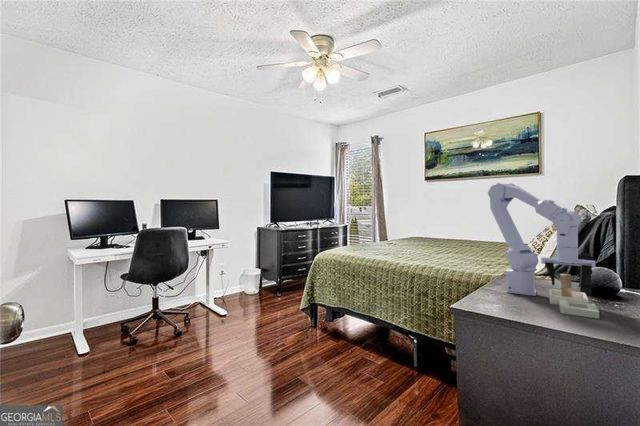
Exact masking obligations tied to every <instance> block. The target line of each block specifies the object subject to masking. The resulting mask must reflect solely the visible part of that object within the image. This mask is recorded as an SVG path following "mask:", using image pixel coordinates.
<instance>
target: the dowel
mask: <svg viewBox="0 0 640 426" xmlns="http://www.w3.org/2000/svg"><path fill="white" fill-rule="evenodd" d="M559 281H560V282H559V283H560V290H561V294H562V296H564V297H573V294H572V291H573V284H572V275H571V274H569V273H559Z"/></svg>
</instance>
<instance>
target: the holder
mask: <svg viewBox="0 0 640 426" xmlns="http://www.w3.org/2000/svg"><path fill="white" fill-rule="evenodd" d="M558 306H559V311H560V314H565V315H571V316H579V317H586V318H593V319H597V320H598V319H600V311H599V309H598V307H597V306H596V304H595V303H589V302H588V303H582V302H574V301H566V300H559V305H558Z"/></svg>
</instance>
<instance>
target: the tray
mask: <svg viewBox="0 0 640 426" xmlns="http://www.w3.org/2000/svg"><path fill="white" fill-rule="evenodd" d="M548 289H549V290H548V297H549V304H550V305H556V306H559V300H566V301H574V302H582V303H589V298H588V296H587V294H585V293H583V292H580V291H575V290H574V291H573V290H572V294H573V297H564V296H562V294H561V289H554V288H548Z"/></svg>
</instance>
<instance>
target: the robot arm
mask: <svg viewBox="0 0 640 426" xmlns="http://www.w3.org/2000/svg"><path fill="white" fill-rule="evenodd" d="M487 195H488V197H489V206H490V207H489V208H490V210H491V213H492V216H493V218H494V219H495V221H496V224H497V225H498V228H499V230H500V232H501V234H502V236H503V238H504V240H505V242H506V245H507V247H508V249H507V251H506V255H507V261H508V264H509V266H510V267H511V268H506V271H505V272H506V273H505V276H506V277H505V289H506V290H505V292H506V293H508V294H509V293H510V294H514V295H515V294H517V295H523V296H532V297H533V296H534V297H536V296H537V290H536V287H535V285H536V283H535V279H536V278H535V271H536V267H537V265H538V264H539V257H538V255H537V254H536V253H534V252H533V250H532V249H531V247H530V246H529V245H527V244H526V243H524V241H523V238H522V236H521V234H520V233H519V230H518V228H517V226H516V225H515V223H514V220H513V218H512V216H511V215H510V213H509V211H508V209H507V208H508V207H509V204H510V203H511V202H512V201H513V200H514V199H517V200H519V201H521V202H523V203H524V204H526V205H529V206H531V207H533V208H534V209H535V213H537V214H538V215H540V216H542V217H543V218H545V219H547V220H548V221H550V222H552V224H553V226H554V227H555V228H556V257H544V256H543V257H541V258H540V259H541V264H543V265H545V266H544V267H545V269H546V270H547V272H548V274H549V277H550V280H551V285H552V286H555V284H556V281H555V265H563V266H573V267H575V266H576V267H579V268H580V269H581V279H580V278H579V283H580V287H581V288H584V283H585V280H586V278H587V276H588V274H589V273H590V271H591V269H592V270H593V268H596V260H592V261H590V260H580V259H579V230H578V229H579V228H578V227H579V226H580V225H581V223H582V217H581V216H580V215H579V214H578V213H577V212H576V211H568V208H566V207H562V206H560V205H558V204H556V203H555V200H553V199H544V200H542V199H540V198H538V197H536V196H535V195H533V194H531V192H528V191H526V190H525V189H524V188H522V187H520V186H518V185H516V184H514V183H511V182H510V183H500V182H496V183H493V184H492V185H490V187H489V189H488V192H487ZM580 266H581V267H580ZM591 267H592V268H591ZM580 287H579V288H580Z"/></svg>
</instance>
